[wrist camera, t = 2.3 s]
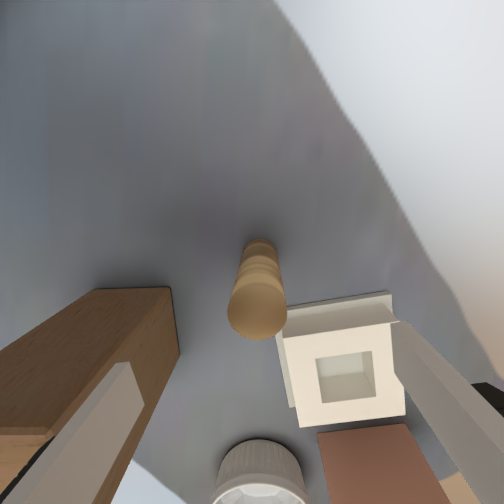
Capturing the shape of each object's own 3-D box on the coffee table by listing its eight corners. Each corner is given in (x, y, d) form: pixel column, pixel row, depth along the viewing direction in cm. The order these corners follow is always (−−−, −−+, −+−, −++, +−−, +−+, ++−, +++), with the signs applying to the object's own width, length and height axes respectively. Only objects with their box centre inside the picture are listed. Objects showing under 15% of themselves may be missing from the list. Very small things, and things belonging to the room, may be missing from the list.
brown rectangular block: (311, 404, 37) (354, 605, 20) (402, 393, 36) (532, 594, 19) (318, 444, 39) (363, 659, 22) (405, 434, 38) (526, 653, 20)
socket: (270, 309, 34) (271, 331, 29) (387, 290, 32) (409, 310, 27) (288, 401, 37) (292, 435, 32) (394, 388, 36) (415, 420, 31)
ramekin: (320, 481, 41) (331, 541, 34) (243, 508, 43) (240, 569, 36) (279, 418, 38) (282, 469, 31) (199, 450, 40) (186, 504, 34)
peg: (239, 242, 31) (221, 291, 18) (273, 235, 31) (281, 281, 18) (246, 274, 32) (234, 343, 19) (279, 268, 32) (291, 335, 19)
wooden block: (91, 288, 34) (-136, 436, 15) (171, 285, 33) (44, 435, 14) (107, 357, 36) (-68, 560, 17) (181, 356, 36) (85, 564, 17)
